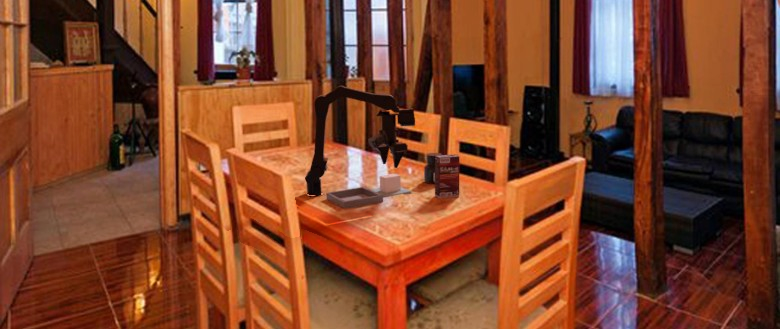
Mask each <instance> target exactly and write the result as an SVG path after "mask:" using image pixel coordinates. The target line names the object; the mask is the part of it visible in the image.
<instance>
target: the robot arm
mask: <svg viewBox="0 0 780 329" xmlns="http://www.w3.org/2000/svg"><path fill="white" fill-rule="evenodd" d="M342 97H343V98H348V99H351V100H354V101H355V100H356V101H360V102H363V103H368V104H372V105H373V106H376V107H378V108H380V109H379V111H378V112H377V113H376V117H380V120H381V121H380V124H381V125H380V127H381V128H380V129H379V130H378V134H376V135H373V136H372V137H369V138H368V139H367V141H368V144H369V146H370V148H373V149H375V150H377V151H378V153H379V156H380V159H381V162H382V164H383V165H386V164H387V160H388V157H389V153H390V154H391V155H392V160H393V167H394V169H398V167H399V165H400V163H401V160H402V158H403V156H404V155H405V153H406V152H407V151H408V150H409V148H408V146H409V145H408V144H407V143H406V142H403V141H402V142H401V141H400V140H399V139H397V133H399V129H398V128H397V125H400V127H415V125H416V117H415V109H414V108H412V107H411V108H405V109H402V108H401V109H400V106H398V105H397V104H396V99H395V98H394V96H393V95H391V94H389V93H371V92H369V91H368V92H367V91H363V90H360V89H359V90H358V89H355V88H351V87H346V86H344V85H338V86H337V87H336V88H335V89H333V90H332V91H330V92H328V93H327V94H320V95H319V96H316V98H315V100H314V103H313V104H314V114H315V119H316V123H315V138H314V152H313V157H312V161H311V164H310V169H309V171H308V172H307V173H306V174H305V176H304V180H305V182H306V193H307V194H309V195H320V196H322V195H321V193H323V192H322V179H321V178H322V177H323V176H324V175H325V173H326V172H327V170H328V168H329V167H328V160H329V157H325V144H326V142H325V140H326V129H327V119H328V115H329V111H330V106H331V104H333V103H334V102H336V101H337V100H339V99H341V98H342ZM383 110H384V111H383ZM392 112H393V113H392ZM396 119H397V120H396Z"/></svg>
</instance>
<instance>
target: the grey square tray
mask: <svg viewBox="0 0 780 329" xmlns="http://www.w3.org/2000/svg"><path fill="white" fill-rule="evenodd" d="M325 196H326V200H327V199H328V200H327V201H329V200H330V201H329V202H331V203H332V202H333V204H334V203H335V204H334V205H336V206H338V207H340V208H341V209H344V210H347V209H352V208H358V207H363V206H368V205H375V204H380V203H383V202H384V196H383V195H381V194H379V193H376V192H374V191H372V190H371V189H370V188H367V187H365V186H361V187H354V188H348V189H343V190H341V189H340V190H337V191H336V190H335V191H330V192H326V193H325Z"/></svg>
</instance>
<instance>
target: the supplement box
mask: <svg viewBox="0 0 780 329" xmlns="http://www.w3.org/2000/svg"><path fill="white" fill-rule="evenodd" d="M434 196H435V197H436V198H438V199H445V198H456V197H460V156H459V155H457V154H455V153H454V154H444V155H443V154H442V155H441V156H435V184H434Z"/></svg>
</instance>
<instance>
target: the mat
mask: <svg viewBox="0 0 780 329" xmlns="http://www.w3.org/2000/svg"><path fill="white" fill-rule="evenodd" d="M370 190H372V191H374V192H376V193H379V194H381V195H383V198H384V197H385V198H386V197H390V196H396V195H408V194H409V195H410V194H412V191H411V190H409V189H407V188H404V187H402V186H401V190H399V191H393V192H388V193H385V192H382V191H380V187H379V188H372V189H370Z"/></svg>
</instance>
